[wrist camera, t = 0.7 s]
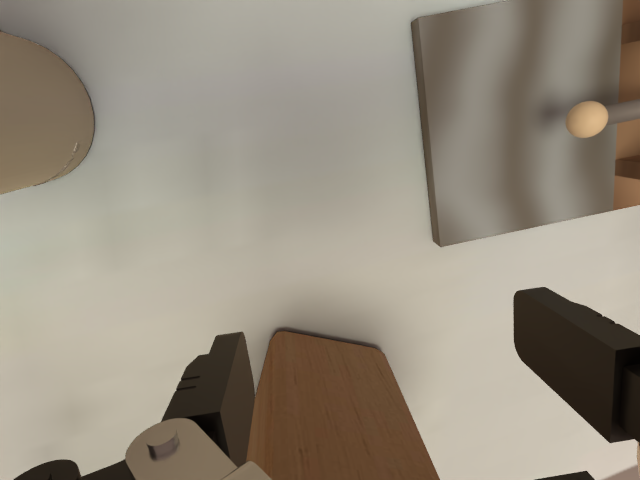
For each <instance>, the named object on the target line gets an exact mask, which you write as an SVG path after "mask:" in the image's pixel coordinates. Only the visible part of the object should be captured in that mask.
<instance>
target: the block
mask: <svg viewBox="0 0 640 480" xmlns="http://www.w3.org/2000/svg"><path fill="white" fill-rule="evenodd" d="M246 461H252V462H254V463H255V464H256V465H258V466H259V467H260V468H261V469H262V470H263V471H264V472H265V473H266V474H267V475H268V476H269V477H270V478H271V479H272V480H440V479H439V477H438V474H437V472H436V470H435V468H434V465H433V463H432V461H431V458H430V456H429V454H428V452H427V449H426V447H425V445H424V443H423V440H422V438H421V436H420V434H419V431H418V429H417V427H416V424H415V422H414V420H413V418H412V415H411V413H410V411H409V409H408V406H407V404H406V402H405V400H404V397H403V395H402V393H401V390H400V388H399V386H398V384H397V381H396V379H395V377H394V375H393V372H392V370H391V368H390V366H389V363H388V361H387V359H386V356H385V354H384V353H382V352H381V351H379V350H378V349H376V348H372V347H367V346H362V345H356V344H351V343H346V342H340V341H335V340H330V339H324V338H319V337H314V336H308V335H303V334H298V333H292V332H287V331H280V332H277V333H276V334H275V335H274V337H273V338H272V339H271V340H270V343H269V347H268V351H267V355H266V359H265V362H264V366H263V370H262V374H261V378H260V381H259V385H258V389H257V393H256V397H255V401H254V409H253V416H252V423H251V430H250V437H249V445H248V452H247V459H246Z"/></svg>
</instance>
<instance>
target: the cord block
mask: <svg viewBox="0 0 640 480" xmlns="http://www.w3.org/2000/svg"><path fill="white" fill-rule="evenodd" d="M636 119H640V99H636V100H631V101H627V102H622V103H617V104H612V105H607V106H603V105H602V104H601V103H599V102H595V101H585V102H581V103H579V104H577V105H576V106H574V107H573V108H572V109H571V110H570V111H569V113H568V114H567V117H566V122H565V123H566V128H567V130H568V131H569V133H571V134H572V135H573V136H576V137H579V138H588V137H592V136H594V135H596V134H598V133H599V132H601V131H602V130H603V129H604V127H605V126H606V125H611V124H616V123H621V122H626V121H631V120H636Z"/></svg>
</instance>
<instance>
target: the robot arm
mask: <svg viewBox="0 0 640 480" xmlns="http://www.w3.org/2000/svg"><path fill="white" fill-rule="evenodd" d="M93 133H94V114H93V110H92V106H91V102H90V99H89V97H88V94H87V92H86V90H85V88H84V86H83V84H82V83H81V81H80V80H79V78H78V77H77V75H76V74H75V73H74V71H73V70H72V69H71V68H70V67H69V66H68V65H67V64H66V63H65V62H64V61H63V60H62V59H61V58H60V57H58V56H57V55H55V54H54V53H52V52H51V51H49V50H48V49H47V48H45V47H43V46H40V45H38V44H36V43H34V42H32V41H29V40H26V39H23V38H19V37H16V36H13V35H10V34H6V33H3V32H2V31H1V30H0V194H4V193H7V192H11V191H15V190H19V189H22V188H26V187H30V186H36V185H40V184H43V183H46V182H48V181H51V180H55V179H57V178H59V177H62V176H64V175H66V174H68V173H69V172H70V171H72V170H73V169H74V168H76V167H77V166H78V165H79V164H80V162H81V161H82V160H83V159H84V157H85V156H86V154H87V152H88V150H89V148H90V145H91V143H92V138H93ZM514 344H515V348H516V351H517V353H518V355H519V357H520V359H521V360H522V361H523V362H524V363H525V364H526V365H527V366H528V367H529V368H530V369H531V370H532V371H533V372H534V373H536V374H537V375H538V376H539V377H540V378H541V379H542V380H543V381H544V382H545V383H546V384H547V385H548V386H549V387H550V388H552V389H553V390H554V391H555V392H556V393H557V394H558V395H559V396H560V397H561V398H562V399H563V400H564V401H565V402H567V403H568V404H569V405H570V406H571V407H572V408H573V409H574V410H575V411H576V412H577V413H578V414H579V415H580V416H581V417H583V418H584V419H585V420H586V421H587V422H588V423H589V424H590V425H591V426H592V427H593V428H594V429H595V430H596V431H598V432H599V433H600V434H601V435H602V436H603V437H604V438H605V439H606V440H607V441H608V442H609V443H613V442H619V441H625V440H631V439H635V440H636V441H638V446H637V462H638V469H639V476H640V335H638V334H636V333H634V332H633V331H631V330H629V329H627V328H625V327H623V326H622V325H620V324H615V322H614V321H612V320H611V319H609V318H607V317H605V316H604V317H602V315H601V314H600V313H598V312H596V311H594V310H592V309H591V308H589V307H587V306H584V305H581V304H577V303H574V302H571V301H569V300H567V299H566V298H564V297H562V296H560V295H558V294H557V293H555V292H553V291H551V290H549V289H548V288H546V287H540V288H533V289H526V290H520V291H517V292H516V293H515V295H514ZM176 390H177V391H175V393H174V395H173V397H172V399H171V401H170V404H169V406H168V408H167V410H166V412H165V414H164V416H163V419H162V421H161V422H160V423H157V424H155V425H153V426H151V427H150V428H148V429H146V430H145V431H143V432H142V433H141V434H140V435H138V436H137V437H136V438H135V439H134V440H133V441H132V443H131V444H130V446H129V447H128V449H127V451H126V455H125V460H123V461H121V462H118V463H116V464H114V465H111V466H108V467H106V468H103V469H101V470H98V471H95V472H93V473H90V474H88V475H85V476H82V477H81V475H80V472H79V469H78V466H77V464H76V463H75V462H73V461H71V460H54V461H50V462H47V463H44V464H41V465H39V466H36V467H34V468H32V469H30V470H28V471H26V472H24V473H23V474H21V475H20V476H18V477H16V478H15V479H14V480H272V479H271V478H270V477H269V476H268V475H267V474H266V473H265V472H264V471H263V470H262V469H261V468H260V467H259V466H258V465H256V464H255V463H254V462H252V461H246V459H247V452H248V445H249V437H250V430H251V423H252V416H253V409H254V400H255V393H254V382H253V377H252V371H251V366H250V361H249V356H248V350H247V345H246V340H245V336H244V333H243V332H237V333H230V334H223V335H217V336H216V337H215V340H214V342H213V345H212V347H211V350H210V352H209V354H205V355H199V356H198V357H197V358H196V359H195V360H193V361H192V362H191V363H190V364H189V365H188V366H187V367H186V369H185V371H184V374H183V376H182V378H181V381H180V382H179V384H178V386H177V389H176ZM536 480H594V478H593V477H592V476H591V475H590V474H589V473H588V472H587V471H583V472H577V473H571V474H565V475H559V476H553V477H547V478H542V479H536Z"/></svg>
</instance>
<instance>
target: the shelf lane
mask: <svg viewBox="0 0 640 480" xmlns="http://www.w3.org/2000/svg"><path fill="white" fill-rule="evenodd" d="M411 28H412V38H413V48H414V57H415V67H416V77H417V87H418V97H419V106H420V116H421V126H422V136H423V146H424V155H425V165H426V175H427V185H428V195H429V204H430V214H431V224H432V234H433V242H435V243H436V244H437V245H438V246H440V247H444V246H448V245H453V244H458V243H462V242H467V241H472V240H476V239H481V238H486V237H491V236H495V235H500V234H505V233H509V232H514V231H519V230H524V229H528V228H533V227H538V226H542V225H547V224H552V223H557V222H561V221H566V220H571V219H575V218H580V217H585V216H590V215H594V214H599V213H604V212H608V211H613V210H618V209H622V208H627V207H632V206H637V205H640V119H636V120H631V121H626V122H621V123H616V124H611V125H606V126H605V127H604V129H603V130H602V131H601V132H599V133H598V134H596V135H594V136H592V137H588V138H579V137H576V136H573V135H572V134H571V133H569V131H568V130H567V128H566V123H565V122H566V117H567V114H568V113H569V111H570V110H571V109H572V108H573V107H574V106H576V105H577V104H579V103H581V102H585V101H595V102H599V103H601V104H602V105H603V106H607V105H612V104H617V103H622V102H627V101H631V100H636V99H640V0H509V1H503V2H498V3H493V4H488V5H482V6H477V7H472V8H467V9H461V10H456V11H451V12H445V13H440V14H435V15H430V16H424V17H419V18H417V19H416V20H414V21H413V22H412V23H411Z"/></svg>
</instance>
